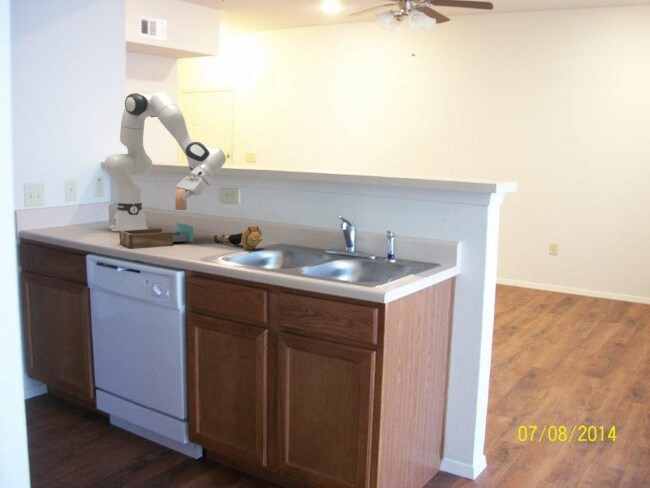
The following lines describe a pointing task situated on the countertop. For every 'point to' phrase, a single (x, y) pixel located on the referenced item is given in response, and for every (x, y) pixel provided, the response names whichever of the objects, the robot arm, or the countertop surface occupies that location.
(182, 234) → the teal tilted board
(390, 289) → the countertop surface
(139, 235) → the brown wooden box
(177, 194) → the cylinder
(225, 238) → the toy
